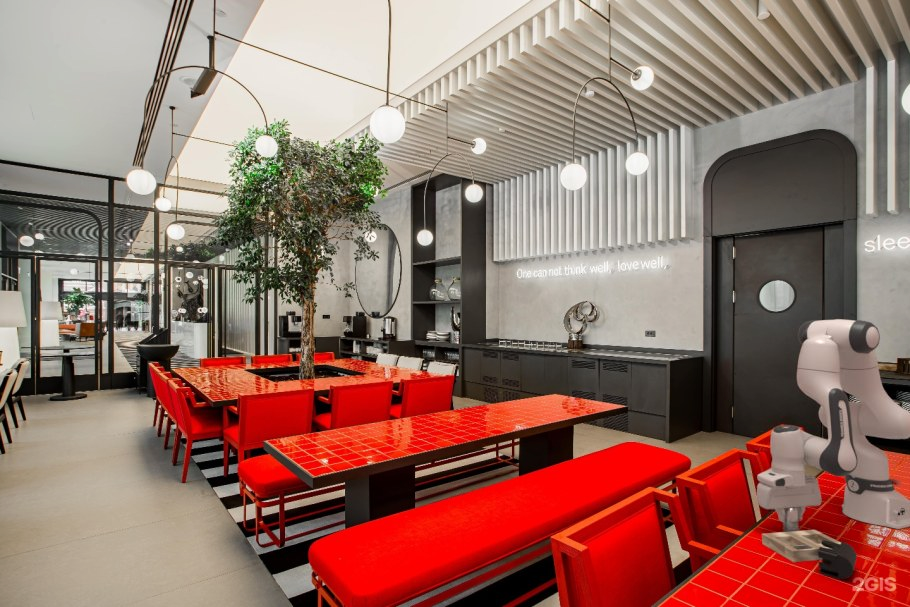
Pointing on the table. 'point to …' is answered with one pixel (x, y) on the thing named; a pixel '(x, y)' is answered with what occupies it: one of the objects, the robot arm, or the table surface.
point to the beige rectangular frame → (797, 544)
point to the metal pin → (791, 519)
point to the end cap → (837, 559)
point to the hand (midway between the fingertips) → (790, 520)
